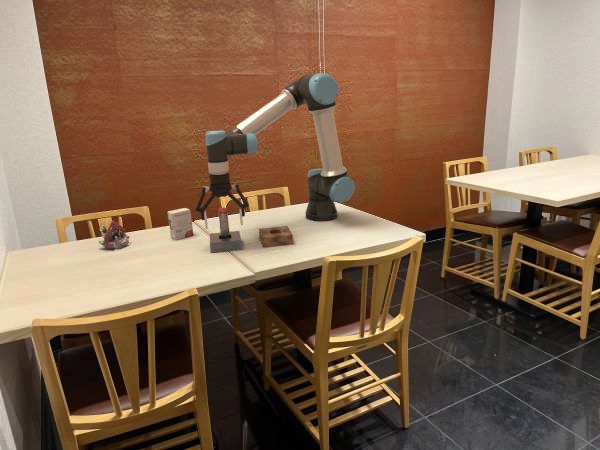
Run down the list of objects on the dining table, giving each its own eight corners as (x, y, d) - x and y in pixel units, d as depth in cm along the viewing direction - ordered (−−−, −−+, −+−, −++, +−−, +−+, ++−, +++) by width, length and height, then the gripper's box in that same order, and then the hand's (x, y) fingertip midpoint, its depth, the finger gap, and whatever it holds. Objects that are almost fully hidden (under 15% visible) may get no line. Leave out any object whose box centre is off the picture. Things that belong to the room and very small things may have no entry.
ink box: (188, 233, 194) (185, 207, 191) (194, 235, 190) (191, 209, 187) (170, 237, 189) (166, 211, 185) (175, 240, 185) (171, 213, 182)
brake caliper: (118, 247, 173) (100, 222, 173) (104, 260, 178) (86, 236, 178) (138, 237, 183) (121, 214, 183) (125, 250, 188) (108, 228, 188)
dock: (240, 239, 183) (239, 230, 181) (242, 249, 171) (241, 239, 170) (210, 242, 180) (209, 233, 179) (210, 253, 169) (209, 243, 168)
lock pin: (230, 244, 178) (226, 207, 173) (230, 247, 175) (227, 209, 170) (221, 245, 177) (218, 208, 173) (222, 248, 174) (218, 210, 169)
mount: (287, 235, 186) (287, 226, 185) (292, 244, 175) (292, 234, 174) (259, 237, 184) (258, 228, 183) (262, 247, 173) (262, 237, 171)
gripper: (251, 168, 173) (255, 220, 179) (185, 173, 168) (192, 226, 175) (252, 171, 166) (257, 225, 172) (184, 177, 161) (191, 232, 168)
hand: (224, 226), depth 173 cm, fingers open, 13 cm apart
